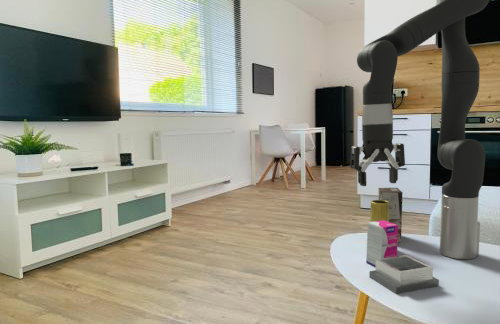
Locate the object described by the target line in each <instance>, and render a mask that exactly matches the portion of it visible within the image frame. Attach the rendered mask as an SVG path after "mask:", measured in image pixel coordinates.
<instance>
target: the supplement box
mask: <svg viewBox="0 0 500 324" xmlns="http://www.w3.org/2000/svg"><path fill="white" fill-rule="evenodd" d="M366 230H367V232H366V256H365V257H366V259H365V260H366V261H365V262H366V264H367V265H371V266H372V267H374V268H376V259H382V258H389V257H396V256H398V243H399V242H398V225H396V224H393V223H390V222H387V221H385V220H381V221H374V222H370V221H369V222H367V229H366Z"/></svg>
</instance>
